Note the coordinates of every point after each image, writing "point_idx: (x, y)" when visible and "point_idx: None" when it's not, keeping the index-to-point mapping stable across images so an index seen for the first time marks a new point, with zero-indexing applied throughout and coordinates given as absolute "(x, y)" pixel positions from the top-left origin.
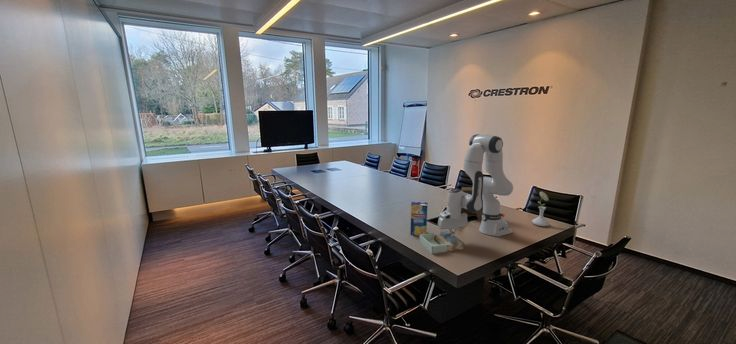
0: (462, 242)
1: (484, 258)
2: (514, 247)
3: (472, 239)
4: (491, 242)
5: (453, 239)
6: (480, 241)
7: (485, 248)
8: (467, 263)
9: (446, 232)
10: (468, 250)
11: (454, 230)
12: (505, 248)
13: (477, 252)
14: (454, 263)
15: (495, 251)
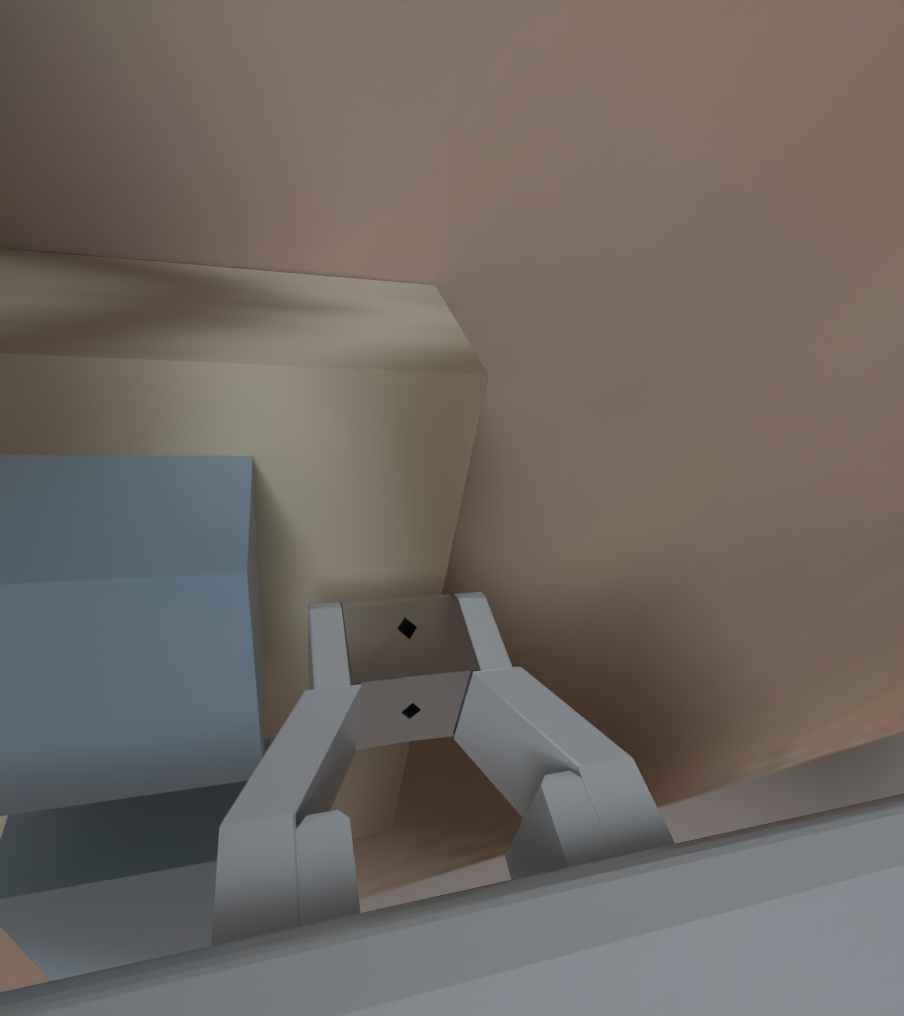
0: (372, 825)
1: (439, 855)
2: (895, 720)
3: (812, 485)
4: (884, 617)
5: (137, 961)
6: (820, 572)
7: (653, 723)
8: None
9: (107, 695)
10: (408, 752)
11: (487, 759)
12: (814, 730)
13: (477, 784)
14: (12, 941)
15: (670, 768)
